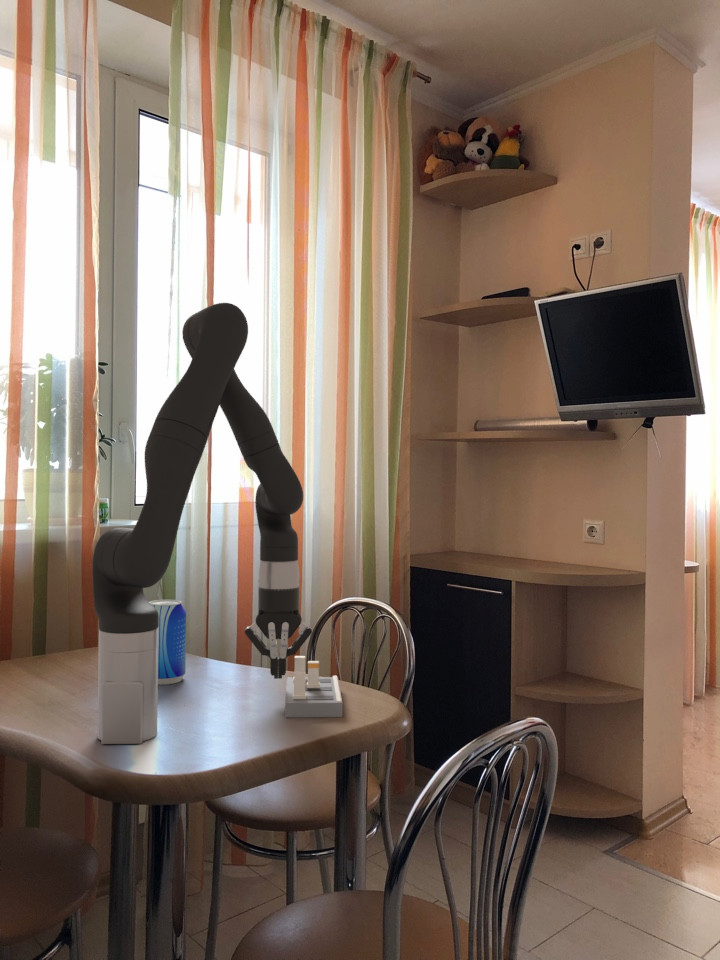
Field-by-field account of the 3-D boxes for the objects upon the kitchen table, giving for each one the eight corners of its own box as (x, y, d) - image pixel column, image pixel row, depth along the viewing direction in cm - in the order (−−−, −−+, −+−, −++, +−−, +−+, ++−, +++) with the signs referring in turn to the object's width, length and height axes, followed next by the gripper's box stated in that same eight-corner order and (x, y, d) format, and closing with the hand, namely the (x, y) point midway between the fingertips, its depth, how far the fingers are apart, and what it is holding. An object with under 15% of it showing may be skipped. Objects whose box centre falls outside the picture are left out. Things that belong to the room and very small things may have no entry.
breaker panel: (342, 716, 141) (342, 675, 141) (284, 717, 141) (285, 676, 141) (337, 689, 159) (338, 653, 159) (286, 690, 159) (287, 653, 158)
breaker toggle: (319, 687, 149) (320, 663, 149) (306, 688, 149) (307, 663, 149) (319, 685, 151) (319, 660, 151) (306, 685, 151) (306, 660, 151)
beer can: (179, 686, 160) (180, 605, 160) (137, 685, 161) (138, 604, 160) (189, 675, 169) (190, 599, 169) (149, 674, 169) (150, 598, 169)
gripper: (241, 587, 145) (240, 683, 145) (315, 587, 146) (314, 682, 147) (244, 581, 153) (243, 673, 153) (314, 581, 154) (313, 672, 154)
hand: (278, 677), depth 150 cm, fingers closed
